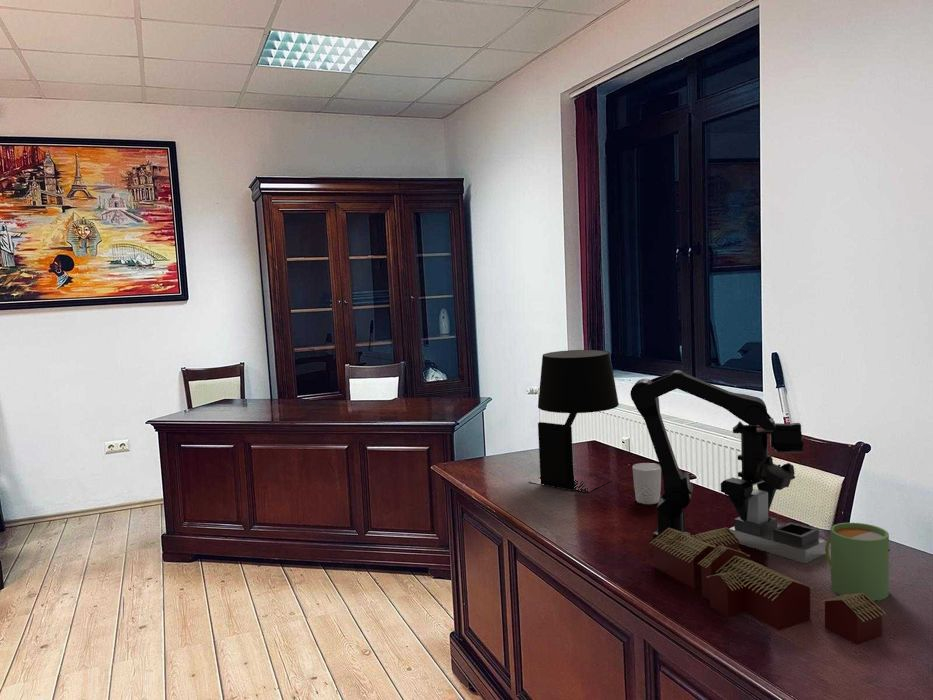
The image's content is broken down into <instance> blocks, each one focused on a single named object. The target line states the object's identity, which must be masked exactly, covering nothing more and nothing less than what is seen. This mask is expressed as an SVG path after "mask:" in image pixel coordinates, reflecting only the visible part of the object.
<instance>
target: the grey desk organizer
mask: <svg viewBox="0 0 933 700" xmlns="http://www.w3.org/2000/svg"><path fill="white" fill-rule="evenodd" d="M733 523H734V526H732V527H730V528H729V527H728V528H729V529H730V530H731V531H732V532H733V533H734V534H735V535H736V537H737V538H738V537H739V540H740V541H741V542H740V541H739V545H742V546H745V547H749V548H752V549H755V548H756V549H755V550H758V549H759V551H762V552H765V551H766V553H768V552H769V554H773V555H775V554H776V555H775V556H778V555H779V557H782V556H783V557H782V558H785V557H786V558H785V559H788V558H789V559H788V560H792V561H794V562H795V561H796V562H799V563H801V564H808V563H810V562H811V561H814V560H817V559H818V558H820V557H822V556H823V555H826V553H825V546H826V541H825V540H823V539H819V533H820V532H819V528H814V527H810V526H808V525H807V526H805V525H802V524H799V523H794V522H792V521H791V522H788V523H785V524H783V525H782V524H781V525H780V526H778V518H775V517H772V516H771V517H770V516H768V521H766V522H764V523H761V524H756V523H753V522H749V521H743V520H741V518H740V516H737V517H736V518H734V522H733ZM813 559H814V560H813Z"/></svg>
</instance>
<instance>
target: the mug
mask: <svg viewBox="0 0 933 700" xmlns="http://www.w3.org/2000/svg"><path fill="white" fill-rule="evenodd" d="M889 546H890V534H889V532H888V531H887V530H886V529H884V528H882V527H879V526H876V525H873V524H869V523H863V522H841V523H839V522H838V523H836V524H833V525H832V526H831V527H830V535H829V536H828V538H827V540H826V541H825V557H826V560H827V563H828V565H829V566H830V588H831V589H832V590H834V591H835V593H836V594H837V593H838V594H837V595H839V594H840V595H839V596H841V595H843V594H852V593H865V594H866V595H867V596H868V597H869V598H870V599H871V600H872V601H873V602H876V601H875V600H878V601H883V600H885V599H887V598H888V597H889V596H890V595H889V594H890V589H889V588H890V583H889V582H890V580H889V579H890V571H889V569H890V567H889V566H890V553H889V552H890V551H891V550H890V547H889ZM829 549H830V552H829ZM834 591H833V592H834ZM886 597H887V598H886ZM882 599H883V600H882Z"/></svg>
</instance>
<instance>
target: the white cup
mask: <svg viewBox="0 0 933 700" xmlns="http://www.w3.org/2000/svg"><path fill="white" fill-rule="evenodd" d="M632 476H633V477H632V478H633V487H634V493H635V495H634V496H635V501H637V503H638V504H641V503H642V505H654V504H655V505H656V504H658V502H659V499H660V497H661V489H662V470H661V467H660V464H659V463H653V462H652V463H651V462H642V463H641V462H640V463H635V464H633V465H632Z"/></svg>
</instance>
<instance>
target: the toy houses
mask: <svg viewBox="0 0 933 700" xmlns="http://www.w3.org/2000/svg"><path fill="white" fill-rule="evenodd" d="M739 541H740V540H739V537H738V538H737V537H736V535H735V534H734V533H733V532H732V531H731V530H730V529H729V527H722V528H718V529H712V530H708V531H705V532H700V533H696V534H692V535H691V534H690V535H689V534H687V533H684V532H681V531H678V530H675V529H672V528H669V527H668V528H666V529H665V530H664V531H663V532H661V533H660V534H659V535H658V536H655V537H654V538H652V540H651V542H650V543H649V544H650V545H651V544H652V548H653V551H652V552H653V568H655V567H656V569H657V570H659V571H660V570H661V572H662V573H664V574H667V576H670V577H671V578H673V579H675V580H676V581H679V582H681V583H683V584H684V585H686V586H687V587H690V588H691V589H693V590H696V589H699V588H701V596H702V597H703V598H704V599H707V600H709V607H710V608H711V609H713V610H715V611H717V612H719V614H720V613H721V614H722V615H723V616H726V617H727V618H729V617H732V616H736V615H739V614H743V613H745V614H747V615H749V616H751V617H753V618H754V619H757V620H759V621H760V622H762V623H764V624H766V625H768V626H770V627H771V628H773V629H776V630H777V631H782V630H784V629H788V628H791V627H794V626H797V625H800V624H803V623H806V622H810V621H811V589H813V588H814V587H813V586H810V585H808V584H805V583H803V582H801V581H798V580H797V579H794V578H792V577H789V576H788V575H785V574H782V573H781V572H778V571H777V570H774V569H772V568H769V567H766V566H765V565H762V564H760V563H758V562H755V561H753V560H751V559H748V557H750V556H751V555H750V554H747V553H745V552H743V551H741V550H742V549H740V548H739V547H740V546H739V545H740V544H739ZM740 542H741V541H740ZM820 603H824V629H825V630H827V631H829V632H831V633H833V634H835V635H837V636H839V637H842V638H844V639H845V640H847V641H849V642H851V643H853V644H855V645H860V644H863V643H865V642H869V641H872V640H875V639H877V638H880V637H882V636H883V614H884V615H887V613H886V612H885V611H884V610H883V608H881V607H880V606H879V605H878V604H877V603H876V602H875V601H872V600H871V599H870V598H869V597H868V596H867V595H866V594H865V593H852V594H843V595H838V596H835V597H831V598H828V599H825V600H821V602H820Z"/></svg>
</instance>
